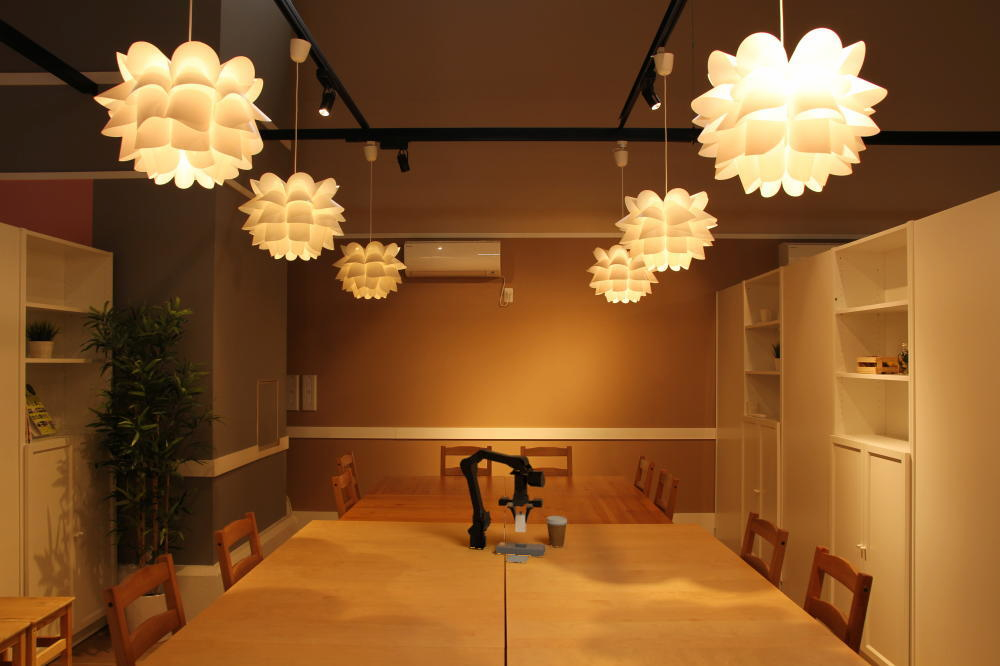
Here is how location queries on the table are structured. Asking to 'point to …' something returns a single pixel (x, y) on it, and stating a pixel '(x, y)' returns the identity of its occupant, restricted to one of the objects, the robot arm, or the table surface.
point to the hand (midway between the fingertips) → (520, 522)
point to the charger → (520, 522)
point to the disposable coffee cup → (556, 530)
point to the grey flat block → (520, 549)
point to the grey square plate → (517, 558)
